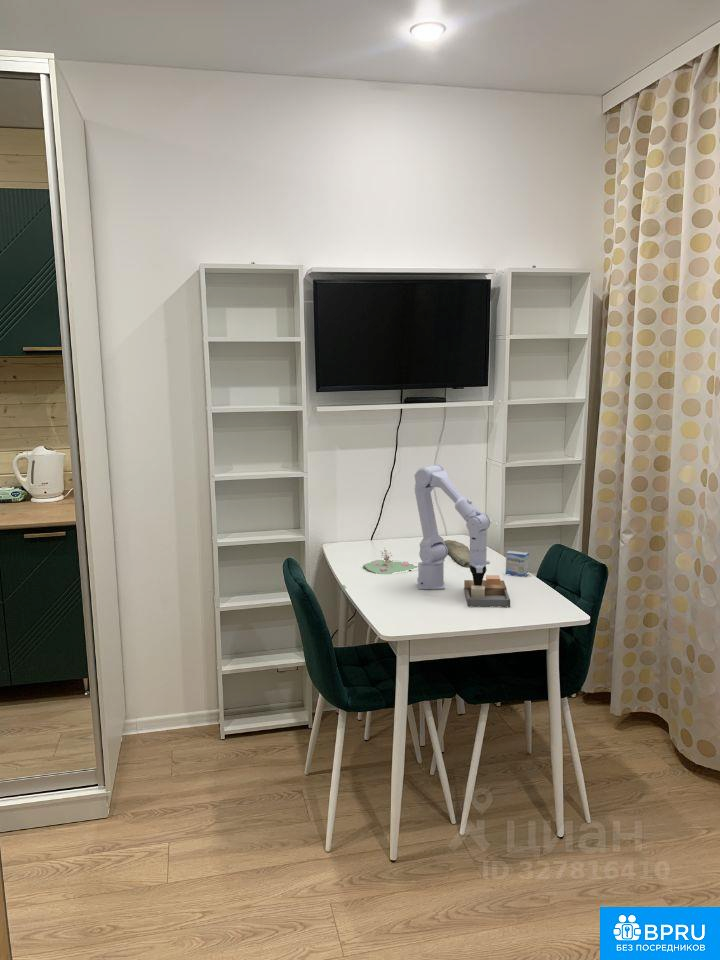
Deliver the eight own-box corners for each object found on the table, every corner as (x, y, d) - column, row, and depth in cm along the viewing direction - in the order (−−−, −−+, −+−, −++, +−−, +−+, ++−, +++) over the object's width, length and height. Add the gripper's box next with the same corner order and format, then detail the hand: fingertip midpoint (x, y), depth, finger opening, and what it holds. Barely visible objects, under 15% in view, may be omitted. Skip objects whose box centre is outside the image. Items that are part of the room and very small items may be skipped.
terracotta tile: (487, 584, 263) (487, 578, 263) (486, 580, 268) (486, 575, 267) (500, 584, 263) (500, 579, 262) (498, 580, 267) (498, 575, 267)
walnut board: (465, 596, 260) (465, 587, 260) (464, 588, 269) (464, 580, 268) (506, 596, 259) (506, 588, 258) (503, 588, 268) (503, 580, 267)
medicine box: (505, 574, 285) (505, 552, 283) (508, 571, 289) (509, 549, 287) (525, 577, 281) (526, 554, 280) (528, 574, 285) (529, 552, 284)
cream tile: (471, 596, 257) (471, 599, 255) (471, 585, 255) (471, 588, 253) (484, 596, 256) (484, 600, 255) (484, 585, 254) (484, 589, 253)
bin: (467, 606, 249) (467, 599, 249) (465, 596, 260) (465, 589, 260) (510, 607, 248) (510, 599, 248) (506, 596, 259) (506, 589, 259)
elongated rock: (458, 572, 294) (482, 572, 296) (459, 559, 293) (484, 559, 295) (437, 545, 328) (459, 545, 330) (438, 534, 327) (460, 534, 328)
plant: (418, 559, 310) (418, 538, 308) (432, 573, 290) (432, 550, 288) (359, 563, 306) (359, 541, 304) (368, 577, 286) (368, 554, 284)
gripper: (491, 554, 249) (491, 593, 251) (487, 543, 263) (487, 581, 265) (470, 554, 249) (470, 593, 251) (467, 543, 264) (467, 580, 266)
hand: (477, 587), depth 258 cm, fingers closed
